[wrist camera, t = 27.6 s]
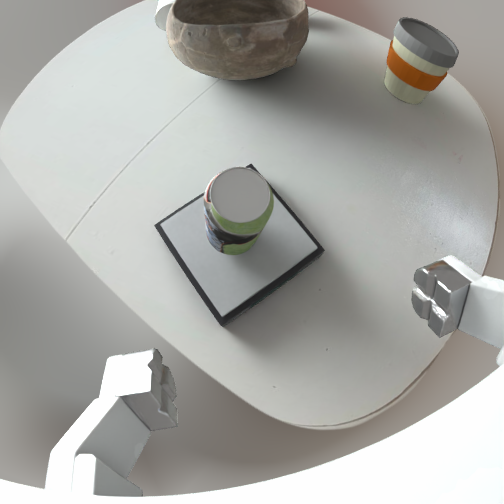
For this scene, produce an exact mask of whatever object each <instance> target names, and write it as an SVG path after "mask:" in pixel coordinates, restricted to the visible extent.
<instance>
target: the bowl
mask: <svg viewBox="0 0 504 504" xmlns="http://www.w3.org/2000/svg"><path fill="white" fill-rule="evenodd" d="M166 33H167V39H168V43H169V46H170V48H171V50H172V51H173V53H174V54H175V56H176V57H177V58H178V59H179V60H180V61H181V62H182V63H183V64H184V65H186V66H188V67H190V68H191V69H194V70H196V71H198V72H200V73H203V74H205V75H208V76H212V77H215V78H221V79H227V80H248V79H255V78H260V77H264V76H268V75H271V74H273V73H275V72H278V71H279V70H281V69H282V68H284V67H288V66H289V67H292V66H293V65H295V64H296V62H297V59H296V57H297V56H298V54H299V53H300V51H301V49H302V47H303V46H304V45H305V43H306V41H307V37H308V33H309V29H308V8H307V5H306V3H305V1H304V0H176V1H175V2H174V3H173V4H172V6H171V8H170V11H169V13H168V17H167V21H166Z"/></svg>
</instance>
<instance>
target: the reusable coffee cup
mask: <svg viewBox="0 0 504 504" xmlns="http://www.w3.org/2000/svg"><path fill="white" fill-rule="evenodd" d="M393 33H394V39H393V40H392V41H391V43H390V48H389V52H388V57H387V65H388V66H387V70H386V75H385V79H384V84H385V86H386V88H387V89H388V90H389V92H390V93H391V94H393V95H394V96H395V97H397V98H398V99H400V100H402V101H404V102H406V103H410V104H419V103H421V102H422V101H423V99H424V98H425V97H426V96H427V95H428V94H429V92H430V91H432V90H434V89H435V88H436V87H437V86H438V85H439V84H440V83H441V81H442V80H443V79H444V78H445V77H446V75H447V71H448V70H449V68H451V67H453V66H454V64H455V62H456V59H457V57H458V54H459V51H458V49H457V47H456V46H455V44H454V43H453V42H452V41H451V40H450V39H449V38H448V37H447V36H446V35H444V34H443V33H442V32H440V31H439V30H437V29H436V28H434V27H432V26H431V25H428V24H427V23H424V22H422V21H419V20H417V19H413V18H407V17H403V18H401V19H400V20H399V21H398V23H397V25H396V27H395V29H394V31H393Z"/></svg>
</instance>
